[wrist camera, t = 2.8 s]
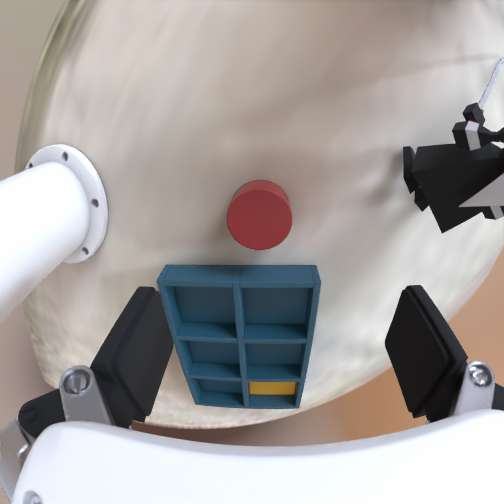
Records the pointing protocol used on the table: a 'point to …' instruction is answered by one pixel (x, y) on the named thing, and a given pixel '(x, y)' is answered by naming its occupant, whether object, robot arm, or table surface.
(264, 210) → the cylinder
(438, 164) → the toy
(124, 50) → the table surface
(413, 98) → the table surface
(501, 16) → the table surface
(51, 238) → the robot arm
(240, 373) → the grid
